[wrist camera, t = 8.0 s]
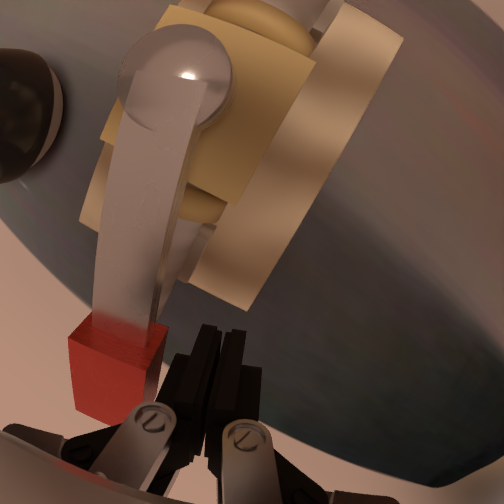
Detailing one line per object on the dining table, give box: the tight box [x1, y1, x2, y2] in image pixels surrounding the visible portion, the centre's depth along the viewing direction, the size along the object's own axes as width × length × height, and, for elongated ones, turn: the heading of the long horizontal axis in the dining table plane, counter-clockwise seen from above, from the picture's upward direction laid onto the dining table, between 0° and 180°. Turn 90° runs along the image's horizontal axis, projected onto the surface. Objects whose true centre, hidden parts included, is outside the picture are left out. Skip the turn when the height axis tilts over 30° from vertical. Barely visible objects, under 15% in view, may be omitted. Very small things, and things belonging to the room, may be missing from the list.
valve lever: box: [68, 24, 237, 426], centre depth 8 cm, size 14×3×2 cm, turn 162°
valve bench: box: [79, 0, 404, 320], centre depth 13 cm, size 22×14×11 cm, turn 152°
